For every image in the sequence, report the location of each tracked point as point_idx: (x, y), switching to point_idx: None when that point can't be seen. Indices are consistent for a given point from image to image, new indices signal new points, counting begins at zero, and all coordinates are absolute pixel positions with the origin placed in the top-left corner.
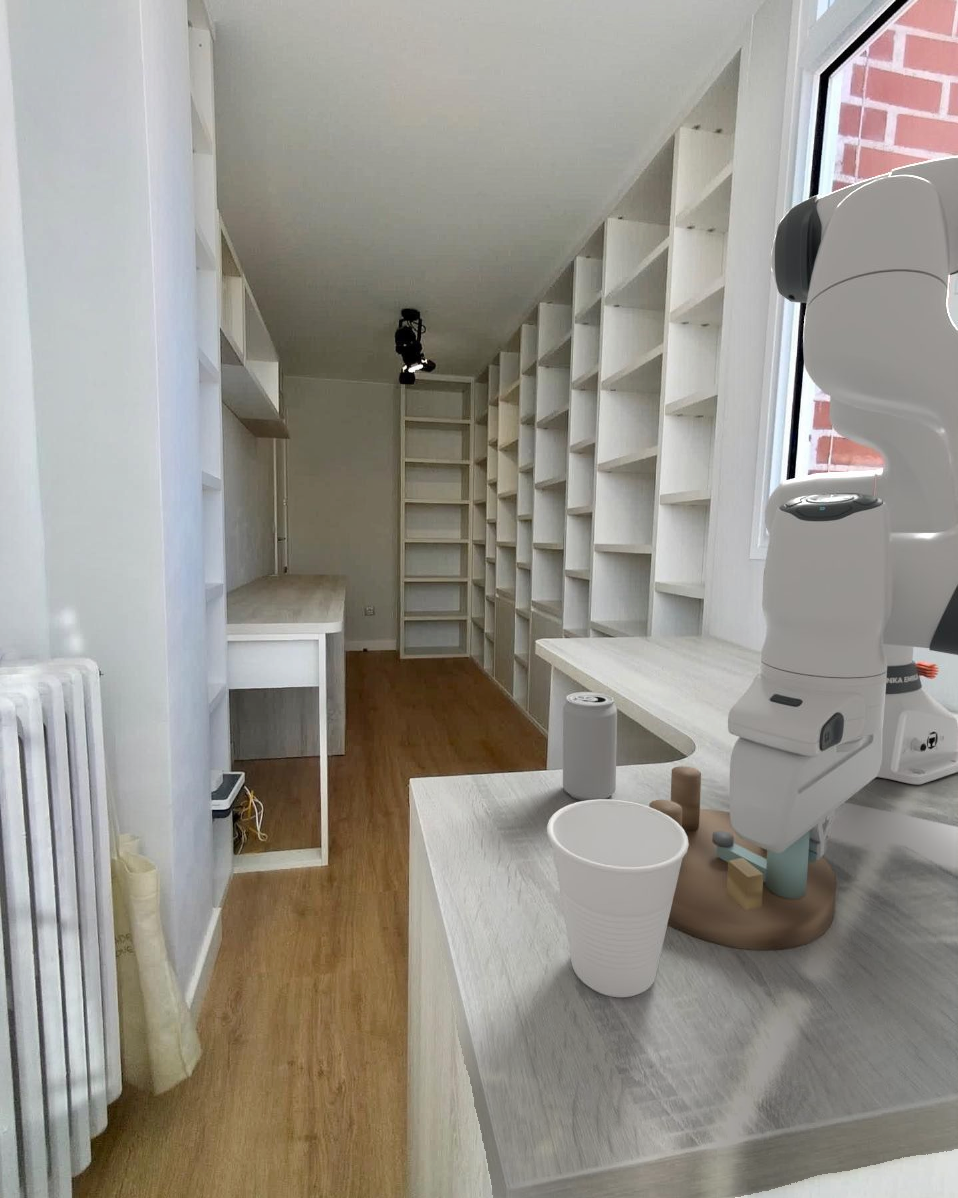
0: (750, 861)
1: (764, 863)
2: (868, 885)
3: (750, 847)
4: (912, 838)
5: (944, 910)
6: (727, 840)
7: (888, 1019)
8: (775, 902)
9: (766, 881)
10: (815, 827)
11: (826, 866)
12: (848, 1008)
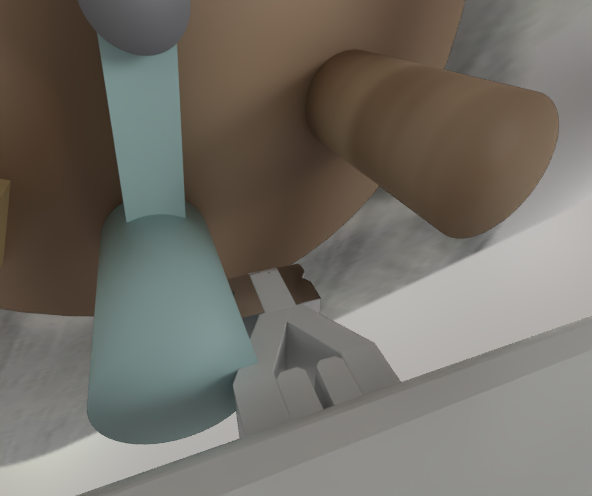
0: (119, 164)
1: (153, 199)
2: (382, 219)
3: (280, 45)
4: (555, 182)
5: (381, 294)
6: (119, 40)
7: (76, 395)
8: (69, 264)
9: (111, 218)
10: (239, 436)
11: (333, 225)
12: (31, 376)
